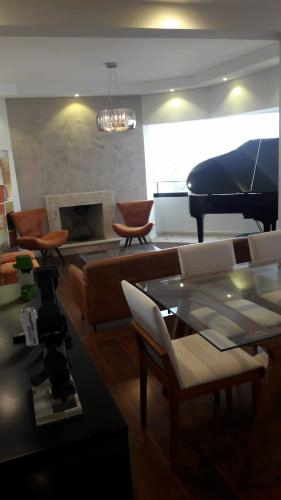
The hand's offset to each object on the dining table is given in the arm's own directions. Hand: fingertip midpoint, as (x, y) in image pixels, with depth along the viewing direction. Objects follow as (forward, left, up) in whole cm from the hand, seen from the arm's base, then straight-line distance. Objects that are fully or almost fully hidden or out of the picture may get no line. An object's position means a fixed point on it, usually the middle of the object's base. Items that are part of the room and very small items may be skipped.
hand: (64, 402), depth 112 cm
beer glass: (-55, -6, -4) cm, 55 cm away
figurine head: (-125, -5, -4) cm, 125 cm away
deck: (-8, -2, -4) cm, 9 cm away
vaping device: (-44, -1, -4) cm, 44 cm away
